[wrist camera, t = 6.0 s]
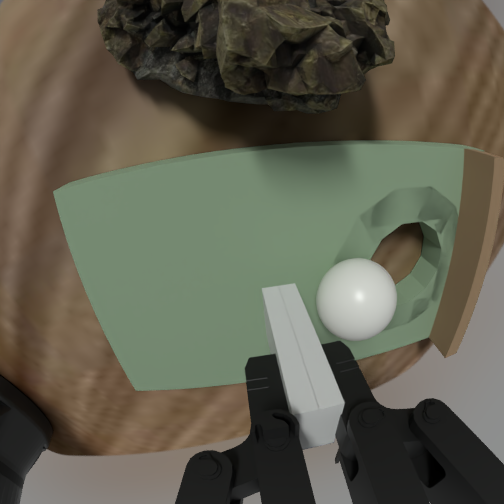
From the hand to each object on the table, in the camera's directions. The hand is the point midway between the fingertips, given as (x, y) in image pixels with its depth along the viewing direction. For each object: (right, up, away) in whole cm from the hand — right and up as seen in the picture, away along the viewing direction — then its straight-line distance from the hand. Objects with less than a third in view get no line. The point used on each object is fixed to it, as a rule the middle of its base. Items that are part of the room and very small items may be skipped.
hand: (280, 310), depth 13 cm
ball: (+4, 0, 0) cm, 4 cm away
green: (+2, +2, +3) cm, 4 cm away
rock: (-2, +15, -3) cm, 15 cm away
